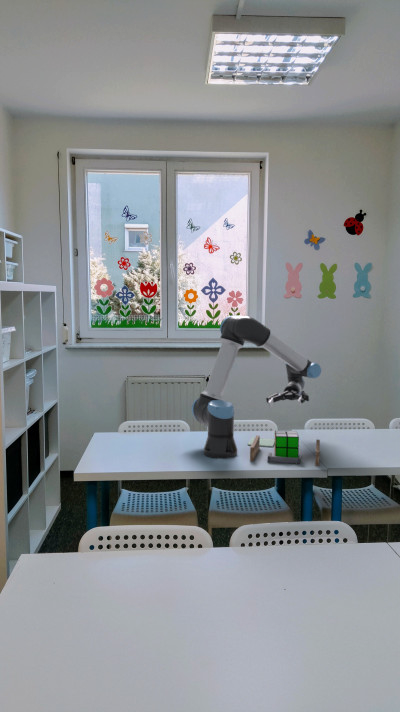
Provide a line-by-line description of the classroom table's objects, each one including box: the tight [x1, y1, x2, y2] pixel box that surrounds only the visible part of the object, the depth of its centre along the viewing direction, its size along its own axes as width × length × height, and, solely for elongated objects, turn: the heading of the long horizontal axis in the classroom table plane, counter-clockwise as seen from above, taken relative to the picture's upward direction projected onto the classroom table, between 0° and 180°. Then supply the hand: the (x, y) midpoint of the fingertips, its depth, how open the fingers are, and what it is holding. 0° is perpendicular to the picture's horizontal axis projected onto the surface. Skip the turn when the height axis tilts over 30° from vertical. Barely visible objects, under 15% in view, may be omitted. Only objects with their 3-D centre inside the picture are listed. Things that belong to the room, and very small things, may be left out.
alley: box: [249, 435, 321, 467], centre depth 222 cm, size 29×20×6 cm
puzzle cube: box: [273, 430, 300, 458], centre depth 224 cm, size 10×10×10 cm
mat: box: [247, 437, 275, 448], centre depth 244 cm, size 12×12×1 cm
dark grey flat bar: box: [266, 452, 302, 466], centre depth 215 cm, size 14×6×2 cm, turn 76°
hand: (283, 404), depth 229 cm, fingers open, 13 cm apart
